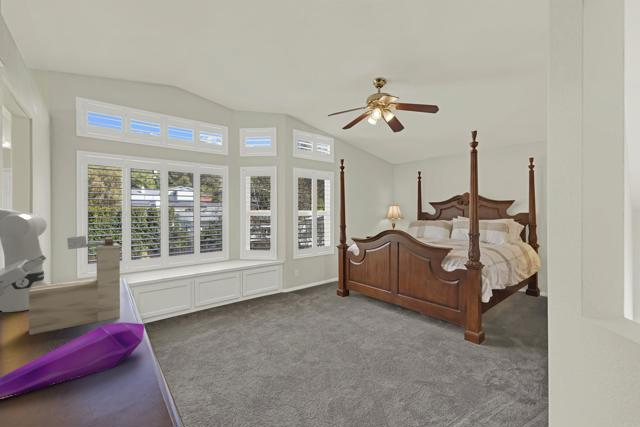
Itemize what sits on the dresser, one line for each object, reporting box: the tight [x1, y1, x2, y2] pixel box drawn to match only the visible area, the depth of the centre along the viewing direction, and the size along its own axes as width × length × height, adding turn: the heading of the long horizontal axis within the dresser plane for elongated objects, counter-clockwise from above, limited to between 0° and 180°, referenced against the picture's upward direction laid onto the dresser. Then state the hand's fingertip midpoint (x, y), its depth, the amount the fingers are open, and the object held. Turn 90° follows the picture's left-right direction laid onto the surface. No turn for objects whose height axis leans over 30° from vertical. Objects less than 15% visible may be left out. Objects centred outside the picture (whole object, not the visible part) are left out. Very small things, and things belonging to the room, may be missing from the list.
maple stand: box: [28, 236, 121, 335], centre depth 103 cm, size 8×24×30 cm, turn 130°
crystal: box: [0, 321, 145, 398], centre depth 73 cm, size 9×15×30 cm
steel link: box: [66, 235, 115, 250], centre depth 105 cm, size 13×4×4 cm, turn 130°
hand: (43, 258), depth 97 cm, fingers open, 8 cm apart
